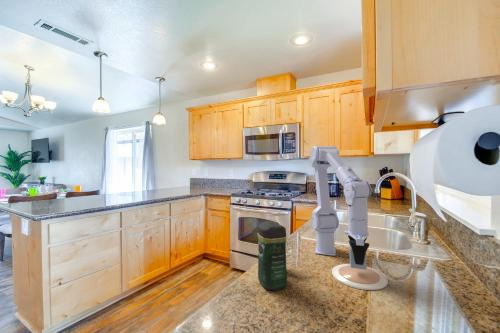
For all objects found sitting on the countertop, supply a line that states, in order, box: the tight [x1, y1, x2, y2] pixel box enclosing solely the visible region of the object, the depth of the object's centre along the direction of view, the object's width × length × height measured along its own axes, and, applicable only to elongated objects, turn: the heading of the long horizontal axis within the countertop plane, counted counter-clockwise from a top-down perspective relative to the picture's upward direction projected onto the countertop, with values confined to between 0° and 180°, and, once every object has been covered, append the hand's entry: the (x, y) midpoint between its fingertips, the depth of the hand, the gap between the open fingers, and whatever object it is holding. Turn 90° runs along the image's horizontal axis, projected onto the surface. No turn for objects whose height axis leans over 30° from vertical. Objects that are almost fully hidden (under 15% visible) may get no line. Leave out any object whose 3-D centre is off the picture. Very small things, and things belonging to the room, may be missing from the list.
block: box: [349, 245, 368, 270], centre depth 72 cm, size 4×4×6 cm
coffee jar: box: [257, 220, 288, 291], centre depth 69 cm, size 10×8×19 cm
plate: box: [331, 263, 389, 291], centre depth 72 cm, size 16×16×1 cm
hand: (358, 260), depth 72 cm, fingers closed on block, 4 cm apart
